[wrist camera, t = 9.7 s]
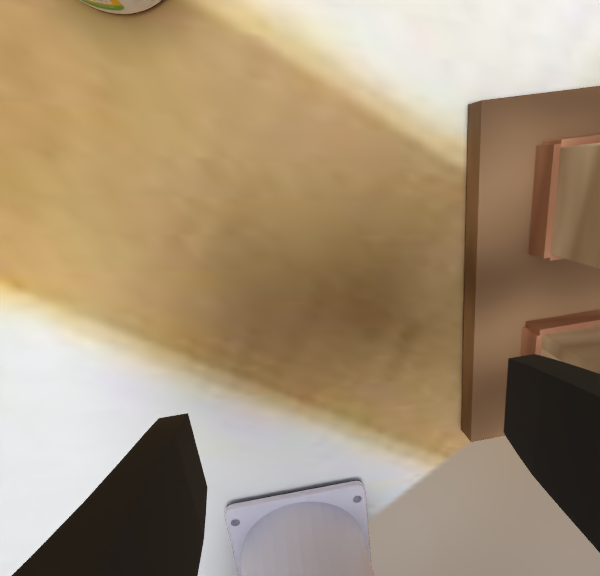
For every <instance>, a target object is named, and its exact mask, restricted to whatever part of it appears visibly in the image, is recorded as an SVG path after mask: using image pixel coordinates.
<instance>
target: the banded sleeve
mask: <svg viewBox="0 0 600 576" xmlns="http://www.w3.org/2000/svg"><path fill="white" fill-rule="evenodd" d="M528 254H532V255H534V256H537V257H540V258H543V259H546V260H549V261H552V260H558V259H568V260H572V261H575V262H578V263H582V264H585V265H588V266H592V267H595V268H598V269H600V134H594V135H586V136H579V137H571V138H564V139H556V140H549V141H543V145H539V146H536V158H535V171H534V184H533V197H532V210H531V223H530V236H529V249H528Z"/></svg>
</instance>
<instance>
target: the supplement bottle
mask: <svg viewBox="0 0 600 576" xmlns="http://www.w3.org/2000/svg"><path fill="white" fill-rule="evenodd" d="M79 1H81V2H83V3H85V4H87V5H89V6H91V7H93V8H96V9H98V10H101V11H105V12H109V13H115V14H132V13H137V12H141V11H144V10H146V9H149V8H151V7H152V6H154V5H156V4H157V3H159V2H160V1H161V0H79Z"/></svg>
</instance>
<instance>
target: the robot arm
mask: <svg viewBox="0 0 600 576" xmlns="http://www.w3.org/2000/svg"><path fill="white" fill-rule="evenodd" d="M504 434H505V436H506V437H507V438H508V440H509V442H510V443H511V445H512V446H513V448H514V449H515V451H516V452H517V454H518V455H519V456H520V458H521V460H523V462H524V463H525V465H526V467H527V468H528V469H529V471H530V472H531V474H532V475H533V476H534V477H535V478H536V480H537V481H538V482H539V483H540V484H541V486H542V487H543V488H544V489H545V490H546V491H547V493H548V494H549V495H550V496H551V497H552V498H553V500H554V501H555V502H556V503H557V504H558V505H559V507H560V508H561V509H562V510H563V511H564V512H565V513H566V514H567V516H568V517H569V518H570V519H571V520H572V521H573V523H574V524H575V525H576V526H577V527H578V528H579V529H580V531H581V532H582V533H583V534H584V535H585V536H586V537H587V539H588V540H589V541H590V542H591V543H592V544H593V545H594V547H595V548H596V549H597V550H598V551H599V552H600V374H599V373H596V372H593V371H590V370H587V369H584V368H581V367H578V366H574V365H571V364H568V363H565V362H562V361H558V360H555V359H552V358H548V357H544V356H540V355H536V354H531V355H525V356H519V357H514V358H508V372H507V387H506V402H505V417H504ZM355 496H357V497H355ZM206 500H207V484H206V481H205V477H204V473H203V469H202V466H201V462H200V458H199V454H198V450H197V447H196V443H195V439H194V435H193V431H192V428H191V424H190V420H189V416H188V413H187V414H181V415H176V416H170V417H164V418H159V419H158V420H157V421H156V422H155V423H154V424H153V425H152V426H151V427H150V429H149V430H148V431H147V432H146V433H145V434H144V435H143V436H142V438H141V439H140V440H139V441H138V442H137V443H136V444H135V446H134V447H133V448H132V449H131V450H130V451H129V452H128V454H127V455H126V456H125V457H124V458H123V459H122V460H121V462H120V463H119V464H118V465H117V466H116V467H115V468H114V469H113V470H112V472H111V473H110V474H109V475H108V476H107V477H106V478H105V479H104V480H103V482H102V483H101V484H100V485H99V486H98V487H97V488H96V489H95V490H94V492H93V493H92V494H91V495H90V496H89V497H88V498H87V499H86V500H85V501H84V503H83V504H82V505H81V506H80V507H79V508H78V509H77V510H76V511H75V512H74V513H73V514H72V515H71V516H70V517H69V518H68V519H67V520H66V521H65V522H64V523H63V524H62V525H61V526H60V527H59V528H58V529H57V530H56V531H55V533H54V534H53V535H52V536H51V537H50V538H49V539H48V540H47V541H46V542H45V543H44V544H43V545H42V546H41V547H40V548H39V549H38V550H37V551H36V552H35V553H34V554H33V555H32V556H31V557H30V558H29V559H28V560H27V561H26V562H25V563H24V564H23V565H22V566H21V567H20V568H19V569H18V570H17V571H16V572H15V573H14V574H13V575H12V576H197V575H198V569H199V563H200V557H201V552H202V546H203V540H204V529H205V516H206ZM234 519H238V520H234ZM225 520H226V524H227V528H228V532H229V536H230V540H231V544H232V547H233V551H234V555H235V559H236V563H237V567H238V571H239V575H240V576H374V574H373V570H372V566H371V555H370V543H369V532H368V520H367V508H366V496H365V489H364V486H363V483H361V482H360V481H351V482H346V483H341V484H336V485H330V486H325V487H320V488H314V489H309V490H304V491H298V492H293V493H288V494H283V495H277V496H272V497H267V498H261V499H256V500H251V501H246V502H240V503H235V504H231V505H229V506H228V507H227V508H226V509H225Z"/></svg>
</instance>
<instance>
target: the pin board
mask: <svg viewBox="0 0 600 576" xmlns="http://www.w3.org/2000/svg"><path fill="white" fill-rule="evenodd" d="M594 134H600V86H596V87H588V88H580V89H572V90H563V91H555V92H547V93H539V94H531V95H523V96H515V97H507V98H499V99H490V100H482V101H479V102H475V103H472V104H468V147H467V194H466V241H465V288H464V335H463V382H462V428H461V430H462V431H463V432H464V434H465V435H466V436H467V437H468V439H469V440H470V441H471V442H473V441H478V440H484V439H489V438H494V437H500V436H505V434H504V417H505V402H506V387H507V372H508V358H514V357H519V356H520V352H521V340H522V327H525V324H526V321H531V320H537V319H543V318H549V317H556V316H562V315H568V314H574V313H580V312H586V311H592V310H598V309H600V269H598V268H595V267H592V266H588V265H585V264H582V263H578V262H575V261H572V260H568V259H558V260H552V261H549V260H546V259H543V258H540V257H537V256H534V255H532V254H528V249H529V236H530V223H531V210H532V197H533V184H534V171H535V158H536V146H539V145H543V141H549V140H556V139H564V138H571V137H579V136H586V135H594Z"/></svg>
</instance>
